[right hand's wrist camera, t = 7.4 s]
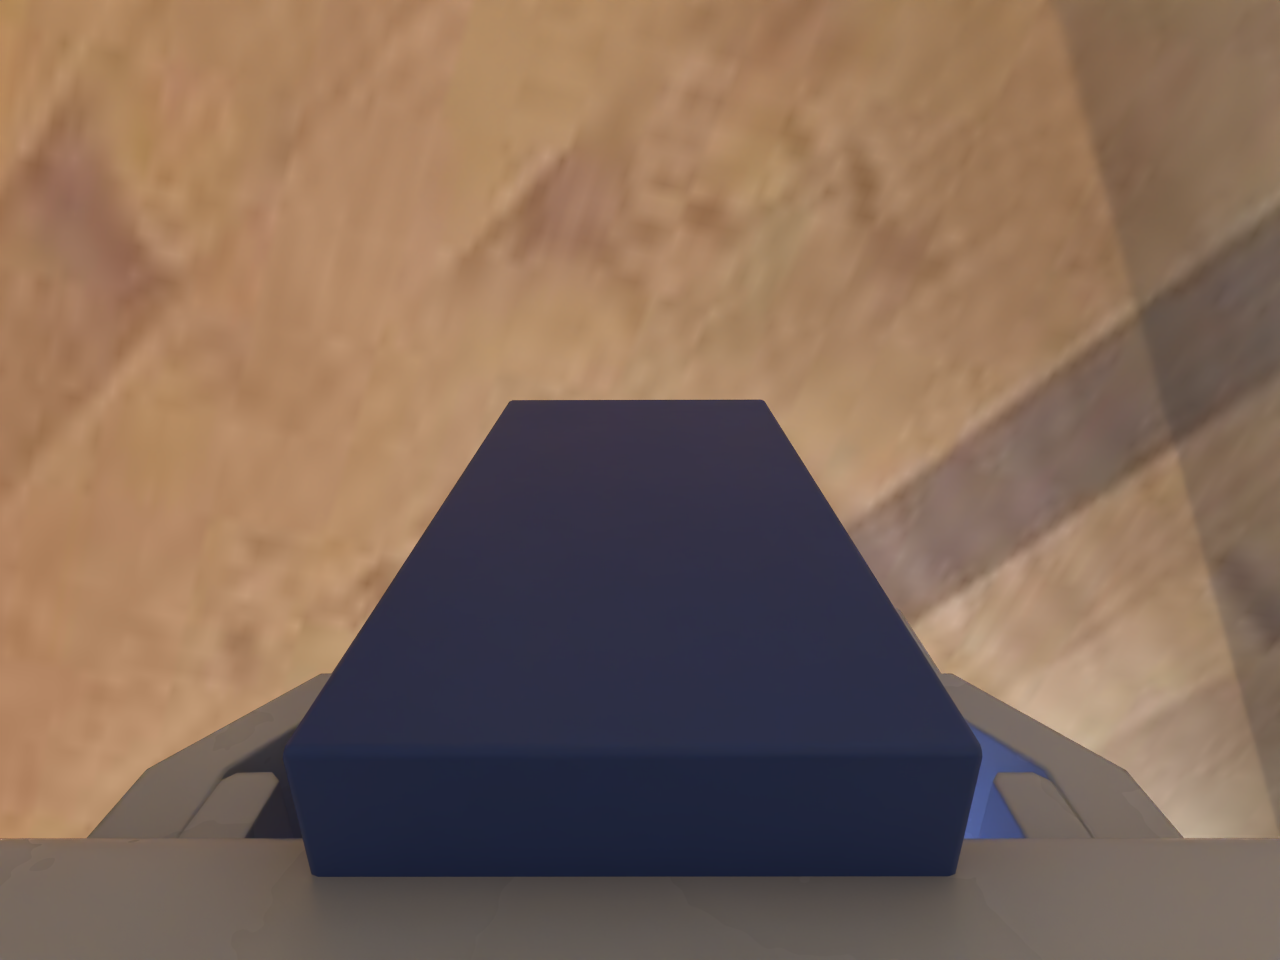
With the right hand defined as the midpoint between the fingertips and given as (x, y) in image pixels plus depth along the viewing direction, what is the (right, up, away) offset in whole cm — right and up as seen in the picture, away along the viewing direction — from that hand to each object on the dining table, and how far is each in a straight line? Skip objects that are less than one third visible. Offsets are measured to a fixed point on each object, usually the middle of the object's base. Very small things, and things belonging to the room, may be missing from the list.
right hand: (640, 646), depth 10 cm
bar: (0, -8, +7) cm, 11 cm away
